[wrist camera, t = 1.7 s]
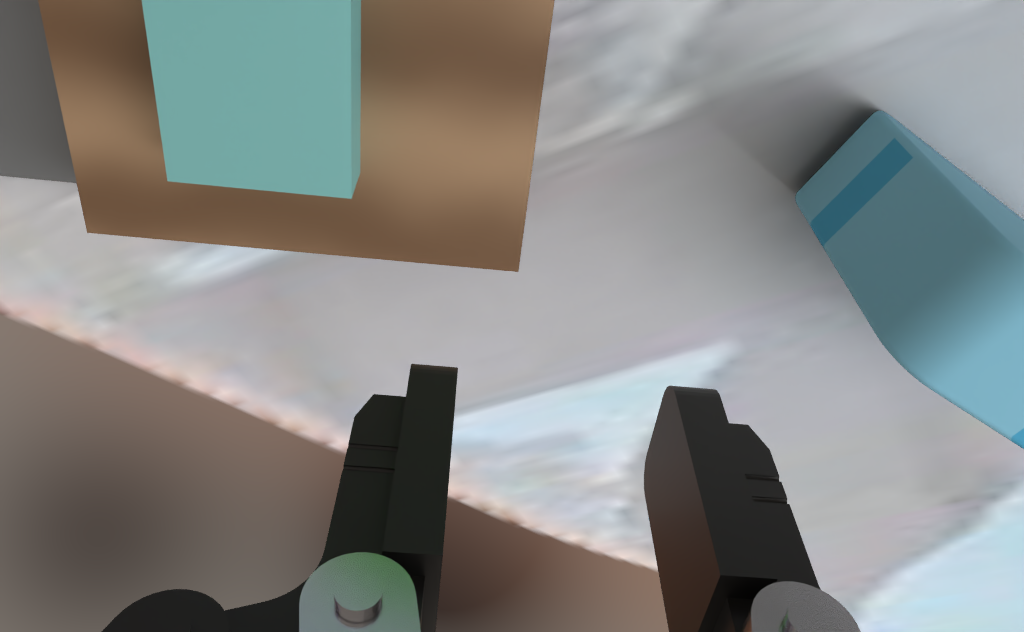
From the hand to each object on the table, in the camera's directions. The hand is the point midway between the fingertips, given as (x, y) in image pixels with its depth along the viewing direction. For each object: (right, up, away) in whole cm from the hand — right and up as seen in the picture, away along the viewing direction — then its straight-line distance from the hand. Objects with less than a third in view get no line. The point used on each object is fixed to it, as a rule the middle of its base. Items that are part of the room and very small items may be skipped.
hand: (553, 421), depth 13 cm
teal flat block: (-8, +11, +13) cm, 19 cm away
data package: (+17, +6, +22) cm, 28 cm away
